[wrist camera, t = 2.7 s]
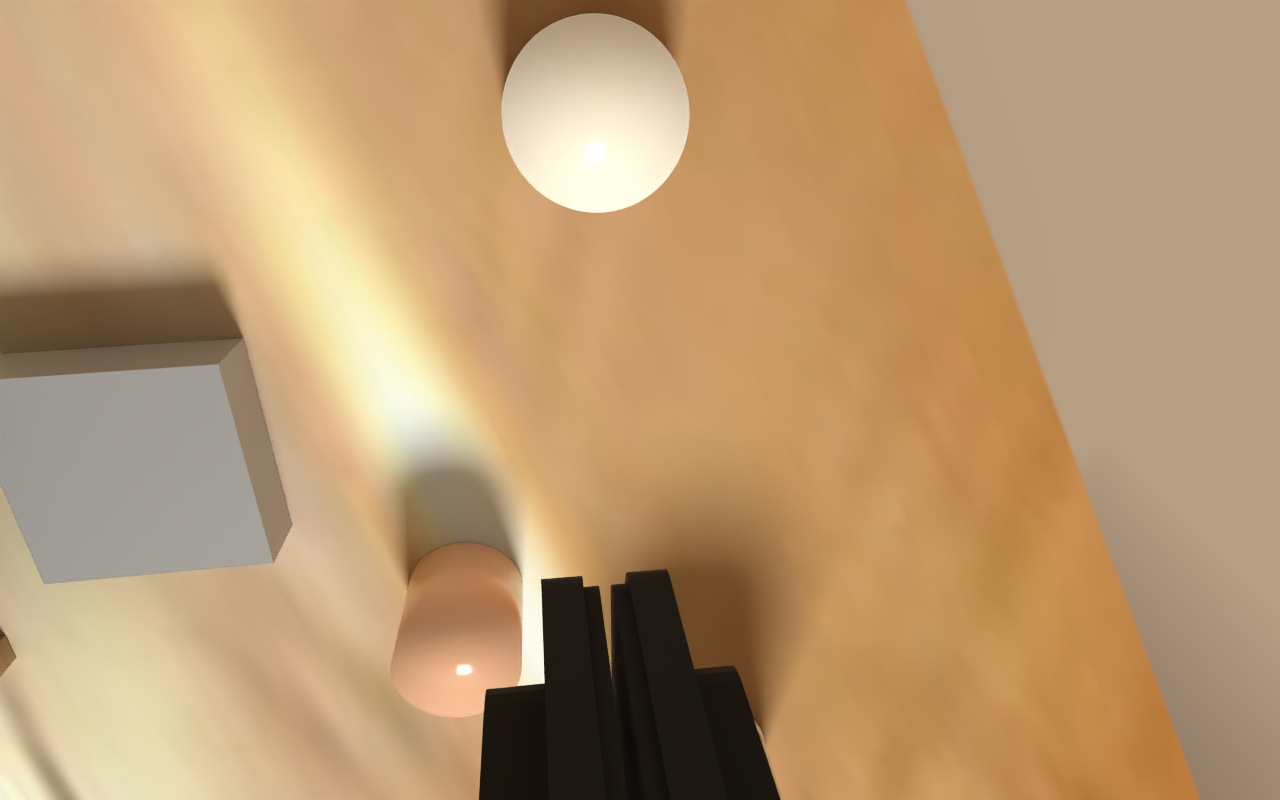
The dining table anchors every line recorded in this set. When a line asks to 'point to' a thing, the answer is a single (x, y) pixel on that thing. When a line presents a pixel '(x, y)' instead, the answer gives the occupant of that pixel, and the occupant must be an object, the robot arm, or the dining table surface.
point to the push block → (139, 460)
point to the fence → (5, 654)
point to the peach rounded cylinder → (459, 630)
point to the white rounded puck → (595, 112)
